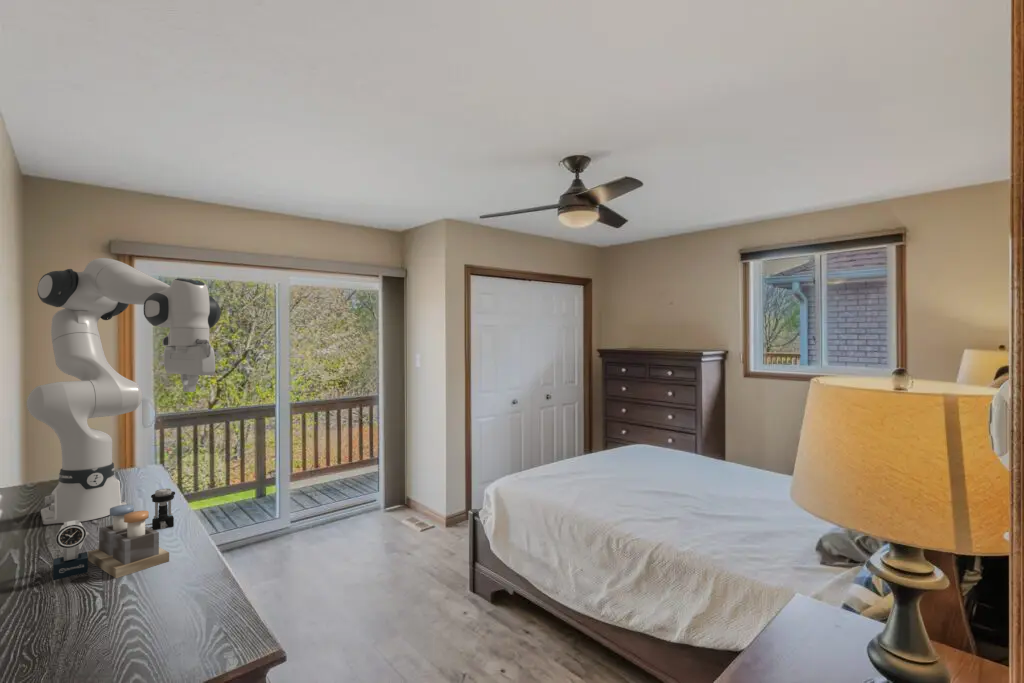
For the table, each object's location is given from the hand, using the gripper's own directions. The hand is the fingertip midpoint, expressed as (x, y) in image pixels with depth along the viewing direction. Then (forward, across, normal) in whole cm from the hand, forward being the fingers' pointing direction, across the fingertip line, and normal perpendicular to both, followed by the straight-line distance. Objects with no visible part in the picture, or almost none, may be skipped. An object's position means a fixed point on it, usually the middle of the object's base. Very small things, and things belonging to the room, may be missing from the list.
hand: (189, 391), depth 131 cm
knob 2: (+35, -12, +16) cm, 40 cm away
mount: (+37, -8, +16) cm, 41 cm away
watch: (+37, -5, +25) cm, 45 cm away
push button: (+37, +9, +3) cm, 39 cm away
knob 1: (+35, -4, +16) cm, 39 cm away
